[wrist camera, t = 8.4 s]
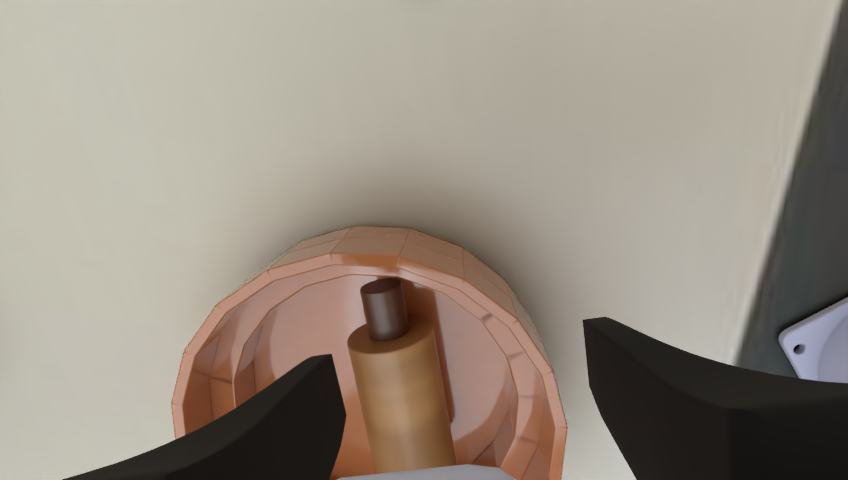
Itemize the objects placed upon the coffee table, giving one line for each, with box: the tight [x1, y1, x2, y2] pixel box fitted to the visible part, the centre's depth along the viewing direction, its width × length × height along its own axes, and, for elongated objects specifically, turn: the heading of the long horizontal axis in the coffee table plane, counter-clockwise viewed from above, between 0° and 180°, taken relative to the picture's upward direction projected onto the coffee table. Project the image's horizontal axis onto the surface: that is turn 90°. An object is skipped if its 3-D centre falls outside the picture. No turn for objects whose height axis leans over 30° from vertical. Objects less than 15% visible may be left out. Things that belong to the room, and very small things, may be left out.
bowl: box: [171, 226, 567, 480], centre depth 22 cm, size 16×16×5 cm
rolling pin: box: [347, 278, 456, 474], centre depth 21 cm, size 11×4×4 cm
